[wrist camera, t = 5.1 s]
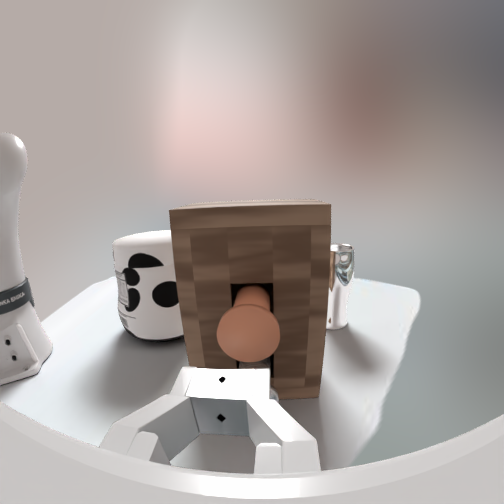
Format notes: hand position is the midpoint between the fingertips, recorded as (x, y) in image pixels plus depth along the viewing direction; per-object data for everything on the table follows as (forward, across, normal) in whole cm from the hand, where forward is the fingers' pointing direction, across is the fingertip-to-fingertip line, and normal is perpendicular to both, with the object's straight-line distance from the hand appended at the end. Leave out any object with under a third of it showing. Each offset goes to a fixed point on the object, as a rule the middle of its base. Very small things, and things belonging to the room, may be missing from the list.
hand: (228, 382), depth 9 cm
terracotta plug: (+17, -1, -8) cm, 18 cm away
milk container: (+39, -20, -20) cm, 48 cm away
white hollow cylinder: (+40, +13, -20) cm, 47 cm away
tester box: (+24, -1, -20) cm, 31 cm away
